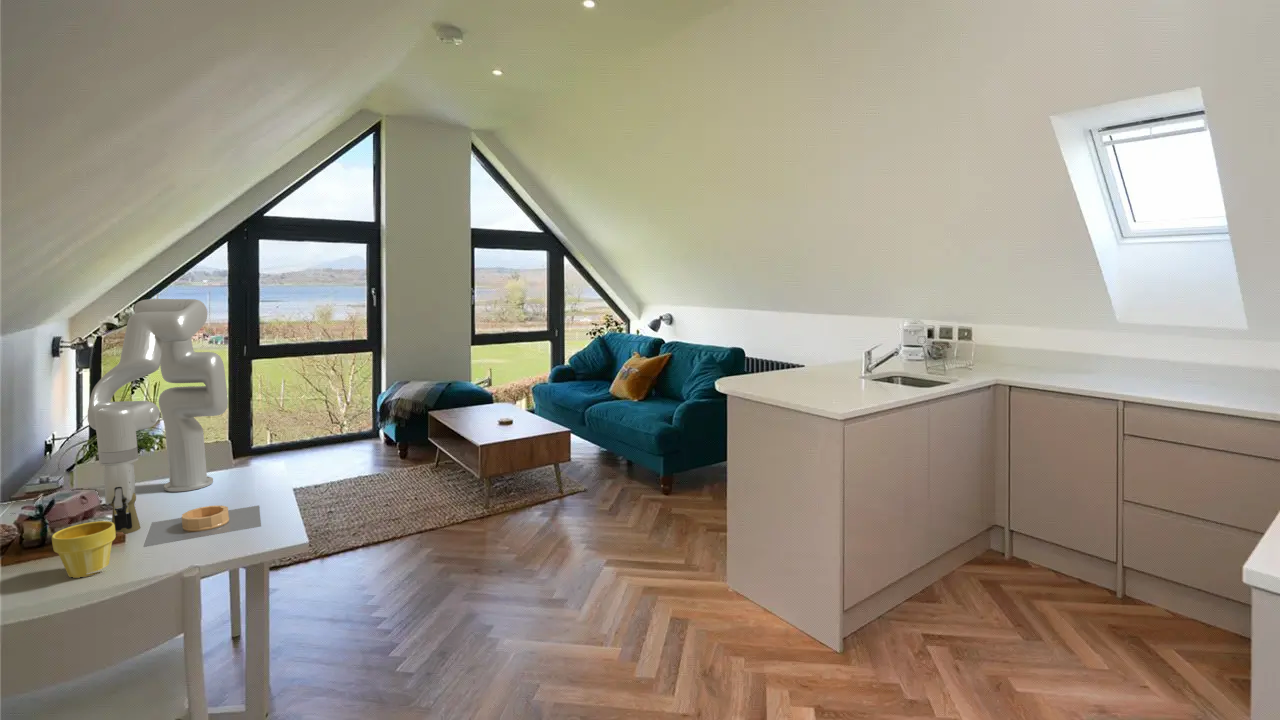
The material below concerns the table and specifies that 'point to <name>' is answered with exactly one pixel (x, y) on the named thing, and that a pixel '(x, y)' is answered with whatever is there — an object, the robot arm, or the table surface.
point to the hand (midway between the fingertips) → (125, 525)
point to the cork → (133, 515)
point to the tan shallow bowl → (205, 518)
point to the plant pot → (84, 547)
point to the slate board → (174, 531)
